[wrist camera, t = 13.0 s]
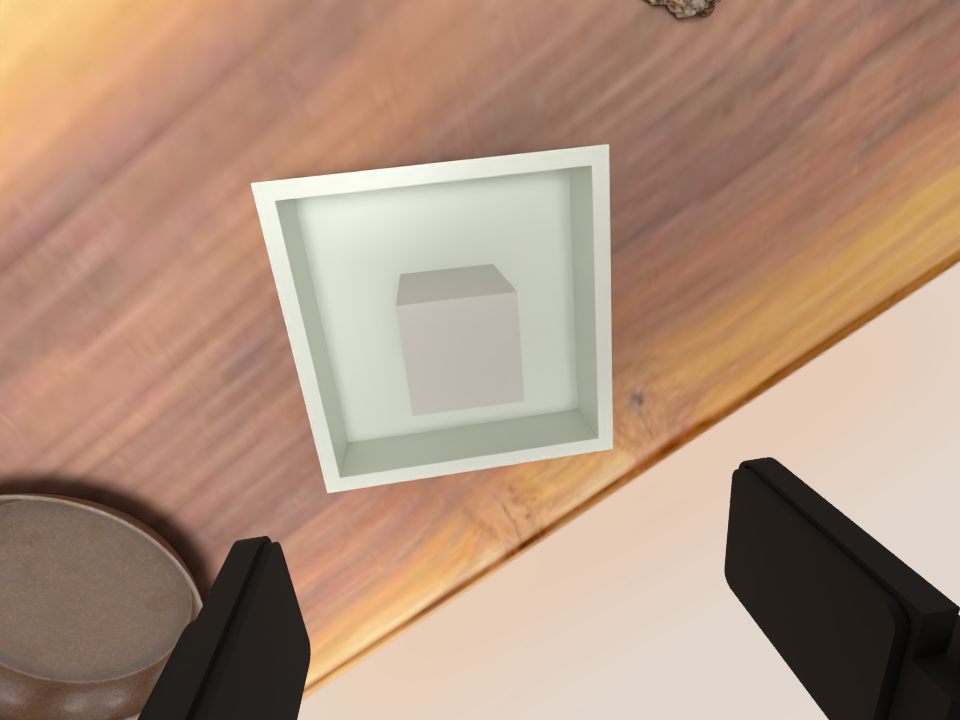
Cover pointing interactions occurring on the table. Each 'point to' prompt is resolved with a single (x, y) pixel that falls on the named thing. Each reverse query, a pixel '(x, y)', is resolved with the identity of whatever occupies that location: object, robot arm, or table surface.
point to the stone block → (460, 339)
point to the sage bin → (435, 246)
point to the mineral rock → (688, 6)
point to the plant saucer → (85, 609)
